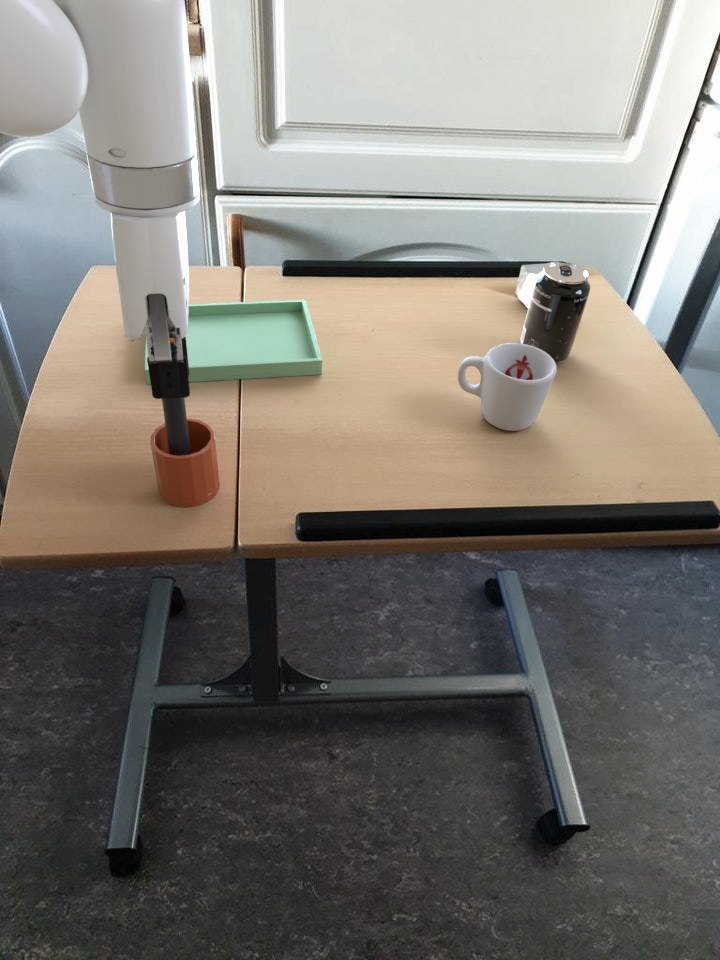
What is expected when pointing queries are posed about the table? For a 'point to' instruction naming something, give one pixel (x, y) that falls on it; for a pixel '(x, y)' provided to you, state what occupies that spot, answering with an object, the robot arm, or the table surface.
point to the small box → (527, 281)
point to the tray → (250, 341)
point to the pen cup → (187, 466)
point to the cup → (510, 383)
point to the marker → (176, 424)
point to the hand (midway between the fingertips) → (171, 385)
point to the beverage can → (556, 309)
